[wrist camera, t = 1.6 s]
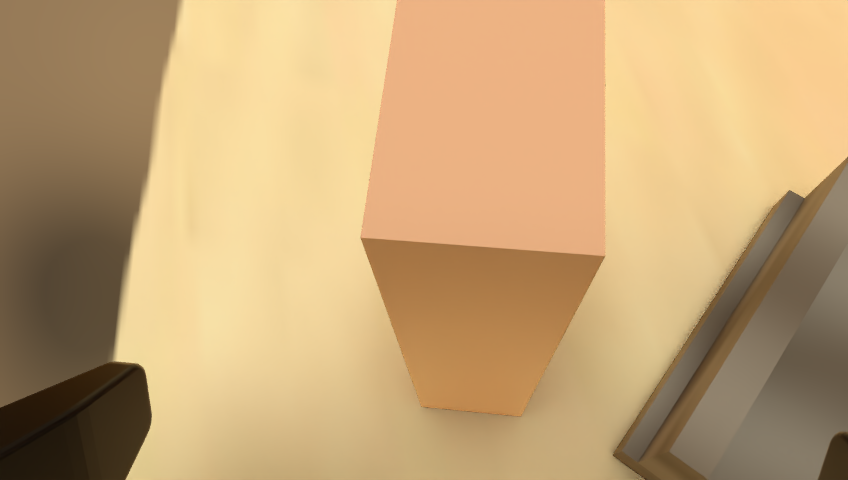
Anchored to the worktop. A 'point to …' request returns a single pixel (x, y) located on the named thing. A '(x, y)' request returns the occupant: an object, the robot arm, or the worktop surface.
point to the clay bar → (487, 191)
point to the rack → (760, 358)
